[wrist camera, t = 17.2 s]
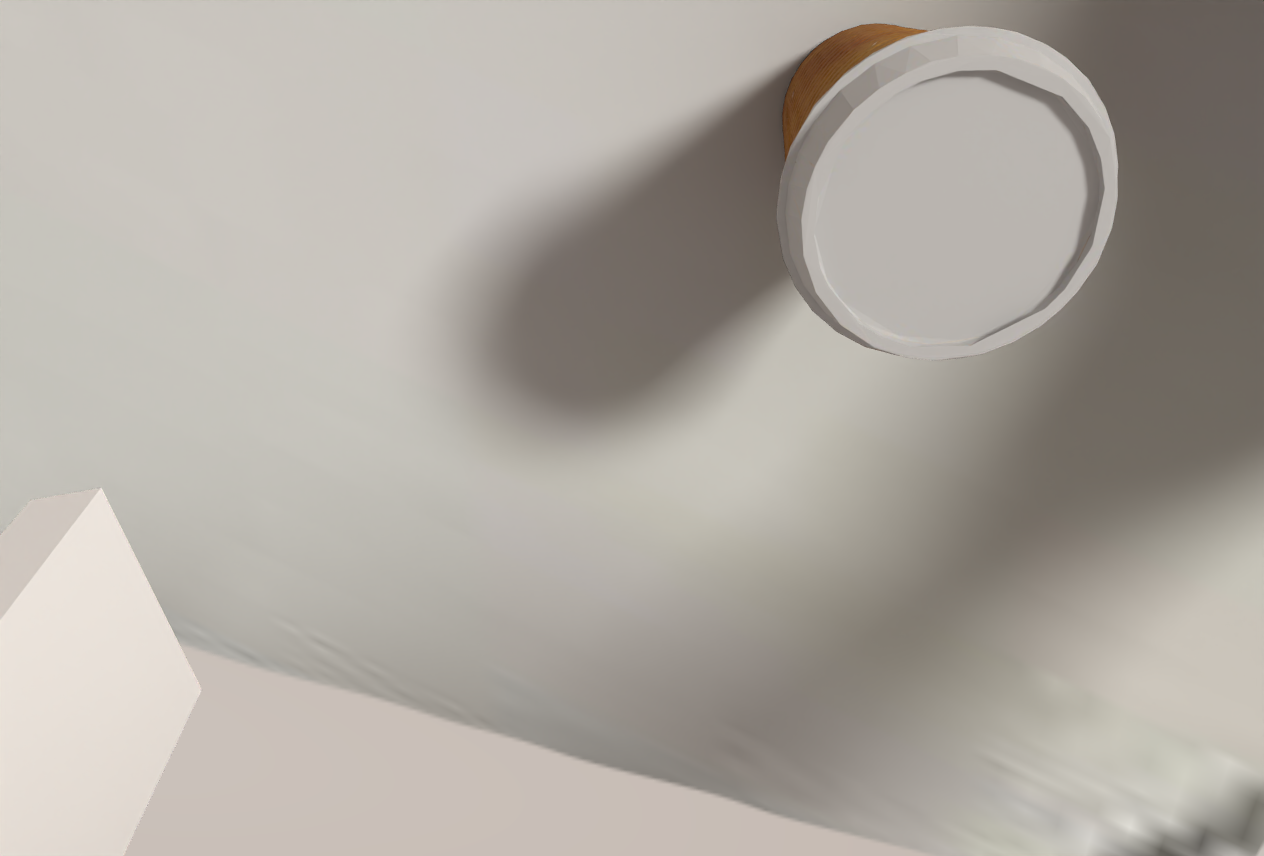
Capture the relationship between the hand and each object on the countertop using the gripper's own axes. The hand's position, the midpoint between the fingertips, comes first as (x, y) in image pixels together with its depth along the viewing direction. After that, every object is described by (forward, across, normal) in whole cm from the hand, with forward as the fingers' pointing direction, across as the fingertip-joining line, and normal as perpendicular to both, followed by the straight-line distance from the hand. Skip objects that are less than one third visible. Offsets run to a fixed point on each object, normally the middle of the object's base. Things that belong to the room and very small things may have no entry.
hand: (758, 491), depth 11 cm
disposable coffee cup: (+32, +7, -5) cm, 33 cm away
